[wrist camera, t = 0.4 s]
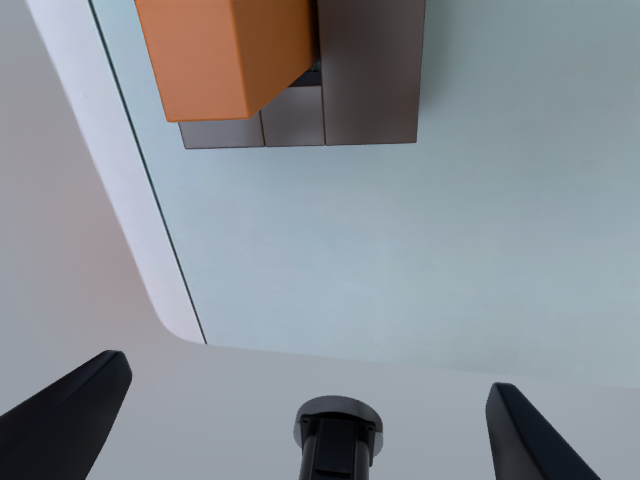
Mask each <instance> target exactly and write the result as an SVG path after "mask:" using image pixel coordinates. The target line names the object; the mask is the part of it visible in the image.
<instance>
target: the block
mask: <svg viewBox="0 0 640 480" xmlns="http://www.w3.org/2000/svg"><path fill="white" fill-rule="evenodd" d="M134 1H135V5H136V8H137V12H138V16H139V20H140V23H141V27H142V31H143V34H144V38H145V42H146V45H147V49H148V53H149V57H150V60H151V64H152V68H153V71H154V75H155V79H156V82H157V86H158V90H159V93H160V97H161V101H162V105H163V108H164V112H165V116H166V119H167V121H168V122H194V121H220V120H245V119H250V118H252V117H253V116H254V115H255V114H256V113H257V112H259V111H260V110H261V109H262V108H263V107H265V106H266V105H267V104H268V103H269V102H270V101H272V100H273V99H274V98H275V97H276V96H277V95H279V94H280V93H281V92H282V91H283V90H285V89H286V88H287V87H288V86H289V85H290V84H292V83H293V82H294V81H295V80H296V79H297V78H299V77H300V76H301V75H302V74H303V73H304V72H306V71H307V70H308V69H309V68H310V67H312V66H313V65H314V64H315V63H316V62H317V61H319V60H320V59H321V57H320V40H319V24H318V7H317V0H134Z"/></svg>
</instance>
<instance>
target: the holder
mask: <svg viewBox="0 0 640 480" xmlns="http://www.w3.org/2000/svg"><path fill="white" fill-rule="evenodd" d="M425 3H426V0H317V7H318V24H319V40H320V57H321V72H306V73H303V74H302V75H301V76H300V77H299V78H297V79H296V80H295V81H294V82H293V83H292V84H290V85H289V86H288V87H287V88H286V89H285V90H283V91H282V92H281V93H280V94H279V95H277V96H276V97H275V98H274V99H273V100H272V101H270V102H269V103H268V104H267V105H266V106H265V107H263V108H262V109H261V110H260V111H259V112H257V113H256V114H255V115H254V116H253V117H252V118H250V119H245V120H220V121H194V122H178V124H179V128H180V131H181V135H182V139H183V143H184V147H185V149H216V148H251V147H265V146H266V147H293V146H325V145H327V146H331V145H366V144H402V143H416V141H417V126H418V110H419V95H420V80H421V64H422V49H423V34H424V18H425Z"/></svg>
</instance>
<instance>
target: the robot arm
mask: <svg viewBox="0 0 640 480" xmlns="http://www.w3.org/2000/svg"><path fill="white" fill-rule="evenodd" d="M131 381H132V371H131V368H130V366H129V364H128V361H127V359H126V356H125V354H124V353H123V352H122V351H116V350H106V351H104V352H102V353H100V354H99V355H97V356H95V357H94V358H92V359H91V360H89V361H87V362H86V363H84V364H83V365H81V366H79V367H78V368H76V369H75V370H73V371H72V372H70V373H68V374H67V375H65V376H64V377H62V378H60V379H59V380H57V381H56V382H54V383H52V384H51V385H49V386H48V387H46V388H44V389H43V390H41V391H40V392H38V393H37V394H35V395H33V396H32V397H30V398H29V399H27V400H25V401H24V402H22V403H21V404H19V405H17V406H16V407H14V408H13V409H11V410H10V411H8V412H7V413H5V414H4V415H2V416H0V480H85V479H86V477H87V475H88V473H89V472H90V470H91V468H92V466H93V464H94V462H95V460H96V458H97V457H98V455H99V453H100V451H101V449H102V447H103V445H104V443H105V441H106V439H107V437H108V435H109V432H110V431H111V428H112V426H113V423H114V421H115V419H116V417H117V414H118V412H119V409H120V407H121V405H122V402H123V400H124V398H125V395H126V393H127V391H128V388H129V386H130V384H131ZM486 420H487V426H488V432H489V439H490V445H491V451H492V456H493V463H494V469H495V476H496V480H601V479H600V478H599V477H598V476H597V474H596V473H595V472H594V471H593V470H592V469H591V468H590V467H589V466H588V465H587V464H586V463H585V461H584V460H583V459H582V458H581V457H580V456H579V455H578V454H577V453H576V452H575V451H574V450H573V448H572V447H571V446H570V445H569V444H568V443H567V442H566V441H565V440H564V439H563V437H562V436H561V435H560V434H559V433H558V432H557V431H556V430H555V429H554V428H553V427H552V425H551V424H550V423H549V422H548V421H547V420H546V419H545V418H544V417H543V416H542V415H541V413H540V412H539V411H538V410H537V409H536V408H535V407H534V406H533V405H532V404H531V403H530V401H529V400H528V399H527V398H526V397H525V396H524V395H523V394H522V393H521V392H520V391H519V389H517V387H516V386H514V385H513V384H510V383H500V382H495V383H493V385H492V387H491V390H490V394H489V397H488V400H487V403H486ZM300 430H301V444H302V457H303V458H302V464H301V469H300V476H299V480H369V467H371V466H372V462H373V453H374V443H375V434H376V423H375V422H373V421H368V420H358V419H349V418H340V417H331V416H321V415H312V414H302V415H301V418H300Z"/></svg>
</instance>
